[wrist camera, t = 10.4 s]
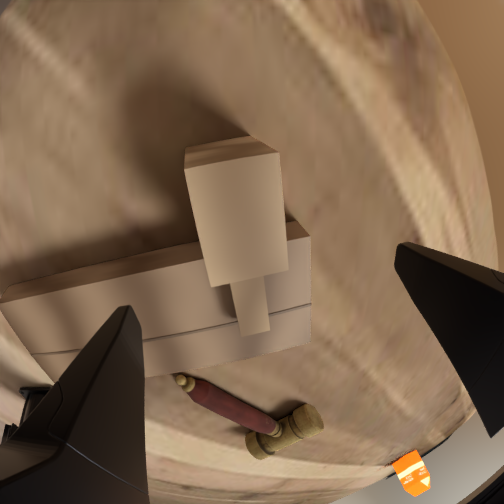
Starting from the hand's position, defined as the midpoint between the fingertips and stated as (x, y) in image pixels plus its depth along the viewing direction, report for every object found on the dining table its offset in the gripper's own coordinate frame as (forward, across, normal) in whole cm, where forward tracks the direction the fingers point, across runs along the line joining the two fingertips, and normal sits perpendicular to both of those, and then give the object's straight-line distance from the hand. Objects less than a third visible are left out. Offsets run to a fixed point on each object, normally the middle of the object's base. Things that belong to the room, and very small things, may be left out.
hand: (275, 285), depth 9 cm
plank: (+11, +8, +8) cm, 16 cm away
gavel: (+11, +3, +26) cm, 28 cm away
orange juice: (+11, -51, +116) cm, 127 cm away
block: (+11, 0, +3) cm, 11 cm away
